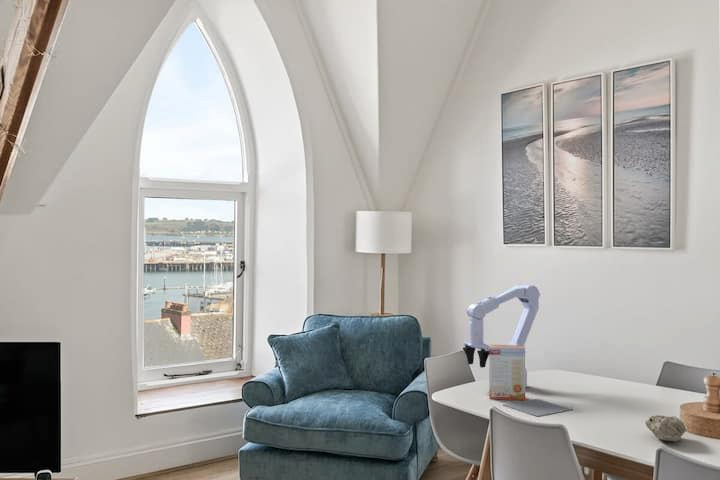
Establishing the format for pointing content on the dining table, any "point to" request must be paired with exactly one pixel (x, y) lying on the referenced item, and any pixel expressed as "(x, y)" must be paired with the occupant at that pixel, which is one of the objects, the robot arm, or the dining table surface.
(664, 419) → the pumice stone
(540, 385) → the dining table surface
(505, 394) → the cracker box
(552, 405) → the mat
